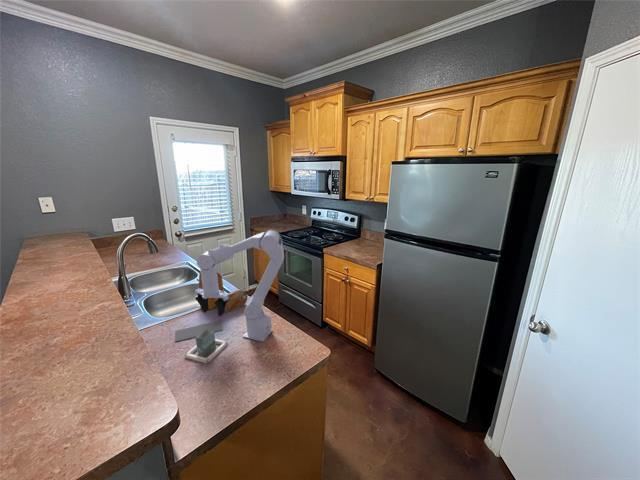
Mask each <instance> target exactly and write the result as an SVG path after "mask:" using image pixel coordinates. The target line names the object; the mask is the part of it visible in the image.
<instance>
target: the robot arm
mask: <svg viewBox="0 0 640 480" xmlns="http://www.w3.org/2000/svg"><path fill="white" fill-rule="evenodd" d="M252 248H255V249H257V250H261V249H262V250H263V252H264V253H266V255H268V257H269V259H270V261H269V262H268V265H267V267H266V268H265V271H264V273H263V274H262V277H261V278H260V280H259V283H258V285H257V287H256V289H255V291H254V293H253V294H252V295H251V296H249V298H248V300H247V302H246V303H247V304H246V305H245V307H244V310H243V314H244V316H245V322H246V332H245V333H244V334H243V335H242V337H243V338H247V339H251V340H254V341H260V342H264V341H265V340H266V339H267V338H268V337H269V335H270V334H271V333H272V332H273V328H272V318H271V317H270V315H267V314H265V311H264V309H263V306H264V302H265V298H266V296H267V295H268V292H269V291H270V289H271V286H272V284H273V283H274V280H275V279H276V277H277V274H278V273H279V270H280V268H281V267H282V264H283V263H284V260H285V252H284V247H283V239H282V236H281V235H280V233H279V232H278V231H277V230H273V229H269V230H266V231H264V232H260V233H257V234H255V235H253V236H250V237H248V238H246V239H243V240H242V241H241V240H240V241H239V242H237V243H235V244H233V245H231V244H229V243H225V244H224V243H222V244H219V246H218V247H216V248H214V249H212V248H210V249H208V250H207V251H204V252H203V253H202V254H200V255H199V256H198V257H197V259H196V265H197V266H198V268H199V270H200V271H201V279H202V287H203V289H199V288H197V289H195V290H194V292H195V294H194V295H195V296H196V297H195V301H197V303H198V304H199V306H200V308H201V310H202V312H203V313H204V314H206V313H207V312H208V311H209V310H210V309H209V304H208V300H209V298H218V300H217V301H215V304H216V308H217V313H218V317H221V316H224V315H225V313H224V310H225V306H226V303H227V301H228V299H229V298H228V293H225V292H224V293H223V292H222V291H220V290H219V286H218V277H217V272H218V271H217V265H218V264H221V263H224V262H226V261H229V260H231V259H233V258H234V257H235V255H236V254H238V253H240V252H244V251H245V250H248V249H249V250H250V249H252Z"/></svg>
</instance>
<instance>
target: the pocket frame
mask: <svg viewBox="0 0 640 480" xmlns="http://www.w3.org/2000/svg"><path fill="white" fill-rule="evenodd" d="M215 343H216V345H219V346H218V347H216V348H215V349H214V350H213V351H212V352H211V353H210V354H209V355H208V356H206V357H204V356H202V355H200V356H199V355H197V354H194V353H196V351H197V345H194V346H193V347H192V348H191V349H190V350H188V351H187V352H186V353H184V358H186V359H188V360H190V359H191V360H193V361H197V362H199V363H200V362H201V363H204V364H208V363H210V362H211V361H212V360H213V359H214V358H215V357H216V356H217V355H218V354H220V352H221V351H222V350H224V349H225V347H227V346H228V341H226V340H223V339H222V340H221V339H218V338H215Z"/></svg>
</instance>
